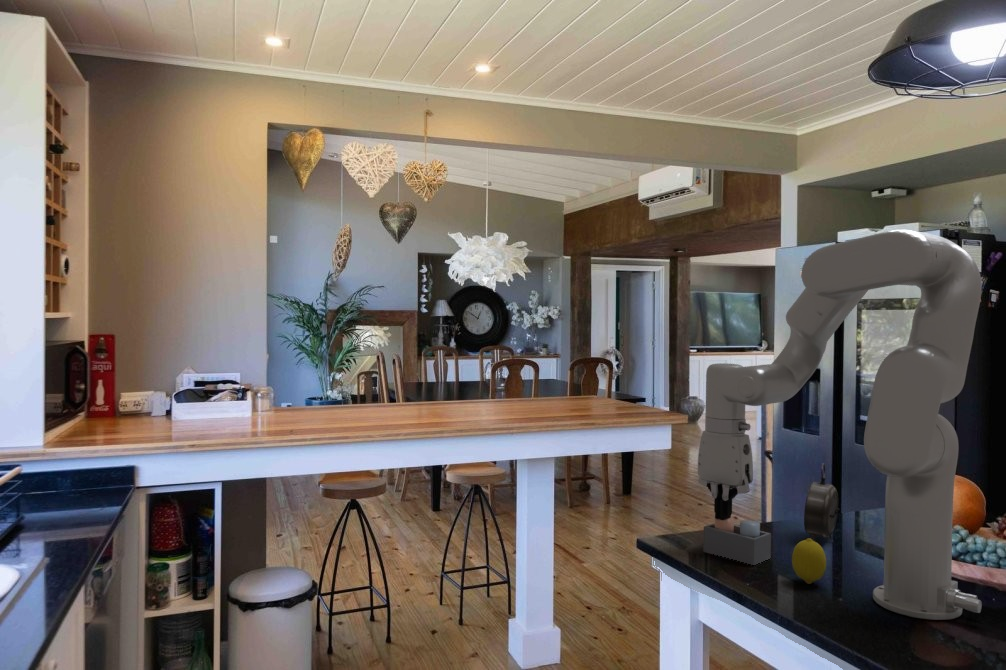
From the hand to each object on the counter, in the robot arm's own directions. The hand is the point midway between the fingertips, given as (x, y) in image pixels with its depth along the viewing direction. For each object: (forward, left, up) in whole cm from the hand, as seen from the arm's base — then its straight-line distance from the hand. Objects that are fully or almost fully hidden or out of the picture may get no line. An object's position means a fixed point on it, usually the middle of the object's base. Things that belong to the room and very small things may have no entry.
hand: (722, 518), depth 145 cm
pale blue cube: (-6, 0, -4) cm, 7 cm away
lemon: (-20, +4, -7) cm, 21 cm away
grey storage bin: (-3, 0, -7) cm, 7 cm away
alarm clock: (-10, -22, -7) cm, 25 cm away
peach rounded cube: (0, 0, -4) cm, 4 cm away
